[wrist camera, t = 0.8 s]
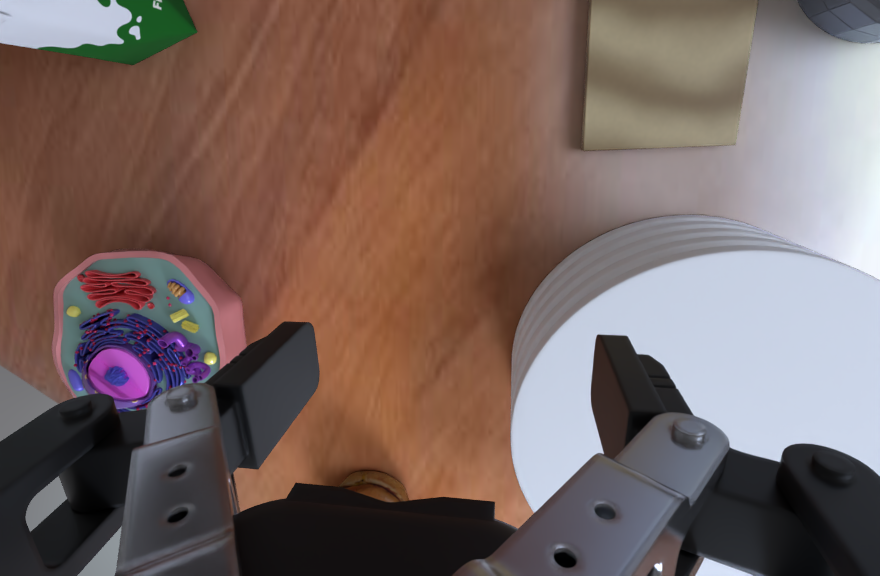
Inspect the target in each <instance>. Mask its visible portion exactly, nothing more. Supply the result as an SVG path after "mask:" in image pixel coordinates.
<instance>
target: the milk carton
mask: <svg viewBox="0 0 880 576" xmlns="http://www.w3.org/2000/svg"><path fill="white" fill-rule="evenodd" d="M195 33H197V30H196V28H195V26H194V24H193V21H192V19H191V17H190V15H189V12H188V10H187V8H186V6H185V4H184V1H183V0H0V43H4V44H10V45H16V46H22V47H28V48H34V49H41V50H47V51H53V52H59V53H65V54H71V55H78V56H84V57H90V58H96V59H101V60H106V61H112V62H118V63H124V64H130V65H134V64H136V63H138V62H140V61H142V60H144V59H146V58H148V57H150V56H152V55H154V54H156V53H158V52H160V51H162V50H164V49H166V48H167V47H169V46H171V45H173V44H175V43H177V42H179V41H181V40H183V39H185V38H187V37H189V36H191V35H193V34H195Z"/></svg>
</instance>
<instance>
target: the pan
mask: <svg viewBox="0 0 880 576" xmlns="http://www.w3.org/2000/svg"><path fill="white" fill-rule="evenodd" d="M797 1H798V3H799V5H800V7H801V8H802V10H803V11H804V12H805V14H806V15H807V17H808V18H809V19H810V20H811V21H812V22H813V23H814V24H815V25H816V26H818V27H819V28H821V29H822V30H824V31H825V32H826V33H828V34H831V35H833V36H835V37H837V38H840V39H844V40H847V41H851V42H859V43H880V0H797Z"/></svg>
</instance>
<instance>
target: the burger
mask: <svg viewBox="0 0 880 576" xmlns="http://www.w3.org/2000/svg"><path fill="white" fill-rule="evenodd" d="M339 487H343V488H346V489H349V490H352V491H355V492H358V493H361V494H364V495H367V496H370V497H373V498H376V499H379V500H382V501H385V502H400V501H409V498H408V495H407V493H406V491H405V488H404V486H403V485H402V484H401V483H400V482H398V481H397V480H396V479H393V478H392V477H390V476H389V475H387V474H385V473H379V472H377V471H361V472H355V473H352V474H351V475H349V476H348V477H347V478H346V479H345V480H344V481H343V482H342V483H341V484H340V486H339Z"/></svg>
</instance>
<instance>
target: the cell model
mask: <svg viewBox="0 0 880 576" xmlns="http://www.w3.org/2000/svg"><path fill="white" fill-rule="evenodd" d="M53 298H54V318H55V331H54V336H53V341H52V353H53V359H54V363H55V366H56V369H57V371H58V373H59V375H60V377H61V379H62V381H63V383H64V384H65V386H66V387H67V389H68V391H69V392H70V393H71V394H72V396H73V397H74V398H76V397H80V396H84V395H90V394H107V395H110V396H112V397H113V399H114V402H115V406H116V409H117V412H118V413H120V412H128V411H136V410H144V409H147V407H148V404H149V402H150V401H151V400H152V399H153V398H154V397H156V396H157V395H159V394H160V393H162V392H164V391H166V390H168V389H170V388H173V387H176V386H179V385H184V384H189V383H205V382H206V381H207V380H208V379H210V378H211V377H212V376H213V375H214V374H215V373H217V372H218V371H219V370H220V369H221V368H223V367H224V366H225V365H226V364H227V363H230V361H231V360H232V359H233V358H234V357H236V356H239V353H240V352H241V351H243V350H244V349H245V348H246V347H247V345H246V334H245V324H244V315H243V305H242V300H241V298H240V296H239V295H238V294H237V293H236V292H235V291H234V290H233V289H232V288H231V287H230V286H229V285H228V284H227V283H226V282H225V281H224V280H223V279H222V278H221V277H220V276H219V275H218V274H217V273H216V272H215V271H214V270H213V269H212V268H211V267H210V266H209V265H207V264H206V263H205V262H203V261H201V260H199V259H197V258H194V257H190V256H183V255H176V254H173V253H170V252H166V251H159V250H152V249H116V250H113V251H110V252H108V253H100V254H94V255H92V256H90V257H88V258H87V259H86V260H85V261H84V262H82V263H81V264H80V265H79V266H78V267H76V268H75V269H74V270H72V271H71V272H69V273H68V274H67V275H65V276H64V277H63V278H62V279H61V280H60V281H59V282H58V284H57V285H56V287H55V289H54V294H53Z"/></svg>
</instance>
